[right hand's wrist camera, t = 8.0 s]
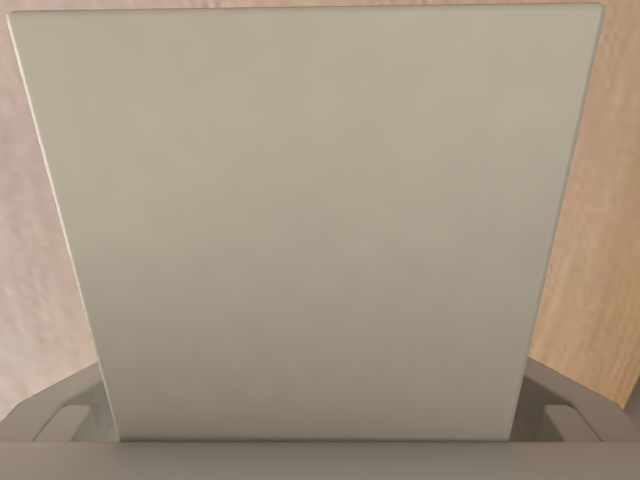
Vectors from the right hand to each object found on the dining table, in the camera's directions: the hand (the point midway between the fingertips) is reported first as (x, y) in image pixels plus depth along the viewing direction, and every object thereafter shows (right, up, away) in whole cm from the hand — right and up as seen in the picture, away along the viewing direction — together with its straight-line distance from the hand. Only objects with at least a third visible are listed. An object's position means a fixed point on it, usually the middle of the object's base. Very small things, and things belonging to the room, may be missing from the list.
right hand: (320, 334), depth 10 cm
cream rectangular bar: (0, -18, +10) cm, 20 cm away
